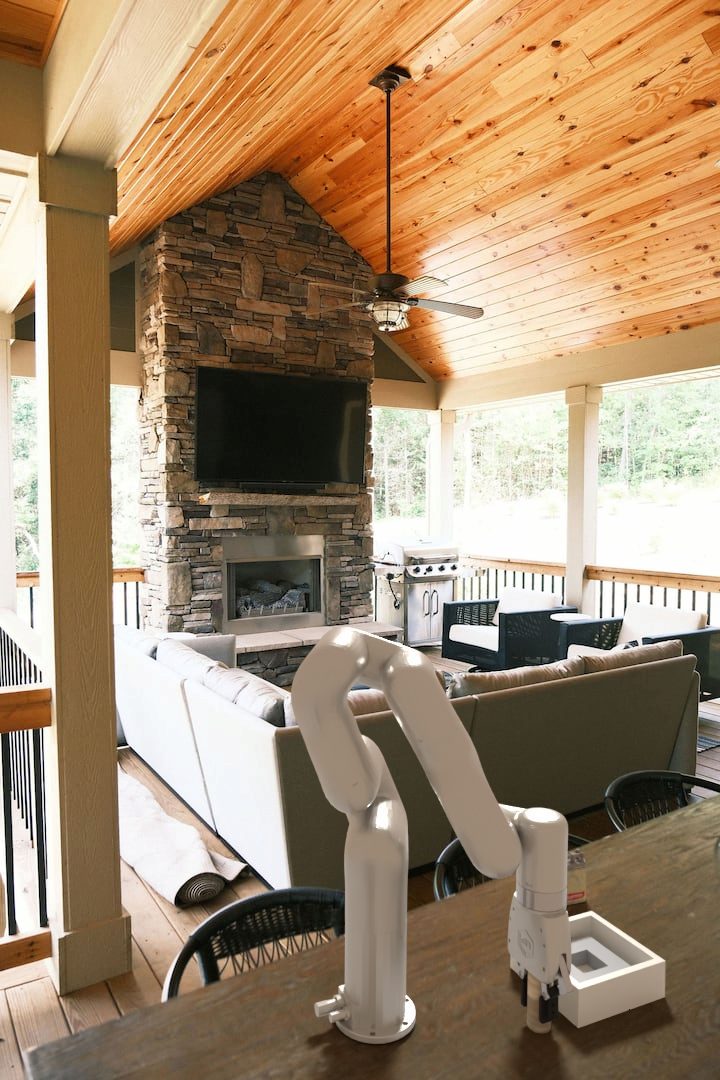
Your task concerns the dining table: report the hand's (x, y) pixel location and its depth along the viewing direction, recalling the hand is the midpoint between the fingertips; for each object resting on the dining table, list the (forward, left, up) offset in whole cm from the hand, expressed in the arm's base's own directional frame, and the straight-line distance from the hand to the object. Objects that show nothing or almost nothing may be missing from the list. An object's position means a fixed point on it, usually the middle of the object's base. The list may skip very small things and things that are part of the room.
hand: (539, 1010), depth 115 cm
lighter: (+30, +28, -3) cm, 41 cm away
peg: (0, 0, -2) cm, 2 cm away
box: (+14, +6, -2) cm, 15 cm away
